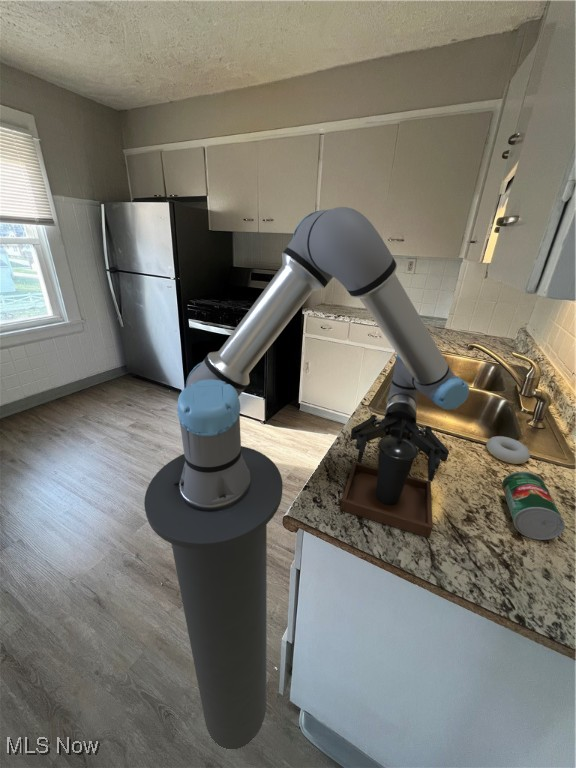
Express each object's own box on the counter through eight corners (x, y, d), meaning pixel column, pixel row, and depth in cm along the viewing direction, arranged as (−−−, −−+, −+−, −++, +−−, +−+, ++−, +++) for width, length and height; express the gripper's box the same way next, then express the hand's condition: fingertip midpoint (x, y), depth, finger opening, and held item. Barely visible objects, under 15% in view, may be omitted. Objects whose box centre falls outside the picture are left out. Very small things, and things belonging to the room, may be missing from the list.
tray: (340, 510, 66) (341, 500, 65) (352, 470, 78) (353, 461, 77) (429, 538, 61) (432, 527, 60) (428, 490, 72) (430, 481, 71)
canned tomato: (510, 503, 72) (523, 542, 62) (495, 476, 71) (506, 512, 61) (551, 495, 68) (572, 536, 58) (536, 467, 66) (554, 504, 57)
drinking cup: (393, 482, 73) (410, 408, 65) (412, 508, 67) (433, 429, 58) (363, 487, 72) (376, 411, 63) (379, 513, 65) (396, 432, 56)
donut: (530, 471, 80) (524, 450, 88) (535, 461, 78) (529, 440, 86) (485, 459, 84) (484, 439, 92) (489, 448, 82) (487, 429, 90)
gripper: (450, 438, 77) (459, 499, 59) (350, 417, 85) (331, 464, 67) (458, 412, 74) (470, 468, 56) (353, 392, 82) (334, 435, 64)
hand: (394, 466), depth 61 cm, fingers open, 13 cm apart
